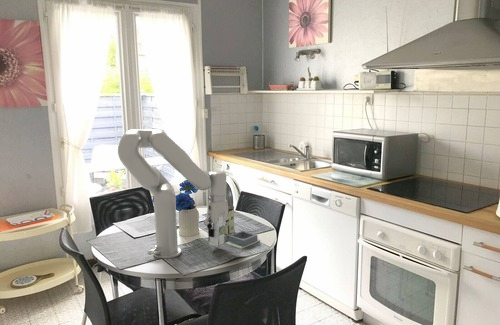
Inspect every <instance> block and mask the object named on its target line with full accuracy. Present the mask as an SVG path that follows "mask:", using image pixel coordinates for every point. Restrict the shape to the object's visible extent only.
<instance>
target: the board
mask: <svg viewBox="0 0 500 325" xmlns="http://www.w3.org/2000/svg"><path fill="white" fill-rule="evenodd" d="M241 239H246V238H241ZM260 242H261V239H259V238H258V241H256V242H254V243H251V244H249V245H246V246H244V247H243V246H240V245H237V244H234V243H231V242H229V241H227V242H226V243H225V244H226V245H228V246H230V247H234V248H237V249H239V250H242V249H244V248H246V247H249V246H251V245H253V244H256V243H260Z"/></svg>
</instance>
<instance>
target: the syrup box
mask: <svg viewBox="0 0 500 325" xmlns="http://www.w3.org/2000/svg"><path fill="white" fill-rule="evenodd" d="M211 225H212V223H211ZM213 229H214V237H210V236H208V235H207V236H208V237H207V238H208V241H207V244H208V245H209V246H213V247H217V248H219V247H220V246H222V245H223V244H225V239H226V236H225V221H223V217H218V223H217V224H214V227H213Z"/></svg>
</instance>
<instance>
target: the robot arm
mask: <svg viewBox="0 0 500 325" xmlns="http://www.w3.org/2000/svg"><path fill="white" fill-rule="evenodd" d="M141 148H142V149H151V148H152V149H153V150H154V151H155V152H156V153H157V154H158V155H159V156H161V157H162V158H163V159H164V160H165V161H166V162H167V163H169V165H170V166H171V167H173V169H174V170H176V171H177V172H178V173H179V174H180V175H181V176H182V177H183V178H184V179H185V180H187V181H188V183H190V184H191V185H192V186H193V187H195V188H196V189H197V190H199V191H207V190H208V189H209V196H208V198H207V199H208V204H207V210H206V218H205V219H204V221H203V224H204V225H205V226H206V228H207V230H208V232H207V236H210V237H214V229H213V227H214V224H217V223H218V217H223V221H225V225H226V223H227V221H228V219H229V217H230V215H229V214H228V205H229V204H228V200H227V199H226V198H227V173H226V172H225V171H221V170H215V171H210V170H209V171H208V170H204V169H203V170H202V169H201V168H200V167H199V166H198V164H196V163H195V162H194V161H193V160H192V158H191V157H190V156H189V155H188V153H187V152H186V151H185V150H184V149H183V148H181V146H179V144H177V143H176V142H175V141H174V140H173V139H171V137H169V136H168V134H167V133H166V132H165V131H164V130H162V129H140V128H139V129H136V128H134V129H129V130H126V131H125V132H124V134H122V136H121V138H120V140H119V142H118V147H117V155H118V158H119V160H120V162H121V164H122V165H123V166H124V167H125V169H126V170H127V171H128V172H129V173H130V174H131V175H132V177H133V178H134V179H135V181H137V183H138V184H139V185H140V186H141V187H142V188H143V189H145V190H148V191H149V192H150V193H151V194H152V196H153V207H154V208H153V210H154V223H155V226H154V227H155V243H156V245H154V246H153V248H152V249H149V250H147V255H148V256H150V255H153V256H154V257H155V258H157V259H165V260H167V259H173V258H176V257H178V256H180V255H181V254H182V248H180V247H179V245H178V224H177V223H178V222H177V197H176V193H175V189H174V187H173V185H172V184H171V183H170V182H169V180H168V179H166V177H165V176H164V175H163V173H162V172H161V171H160V170H159V169H158V168H157V167H155V166H154V165H150V164H149V163H148V161H147V160H146V159H145V158H144V157H143V156H142V155H141V153H140V150H139V149H141ZM211 223H212V225H211Z"/></svg>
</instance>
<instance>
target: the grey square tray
mask: <svg viewBox="0 0 500 325" xmlns="http://www.w3.org/2000/svg"><path fill="white" fill-rule="evenodd" d="M241 238H246V239H241ZM258 239H259V236H258V234H255V233H252V232H249V231H245V230H241V231H239V232H235V233H234V234H232V235H229V236H228V242H231V243H234V244H237V245H240V246H243V247H244V246H246V245H249V244H251V243H254V242H256V241H258ZM256 243H257V242H256ZM254 244H255V243H254ZM249 246H250V245H249Z"/></svg>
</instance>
